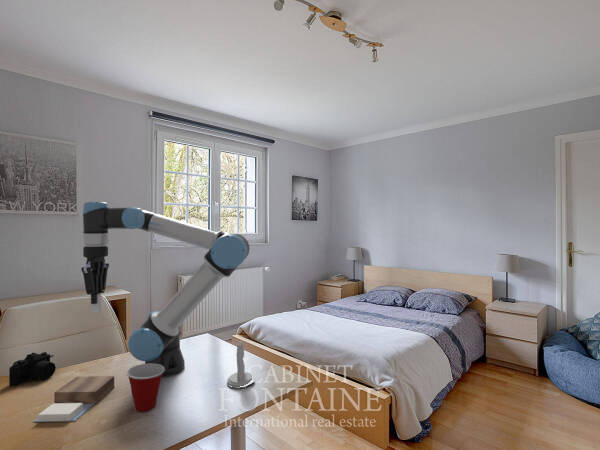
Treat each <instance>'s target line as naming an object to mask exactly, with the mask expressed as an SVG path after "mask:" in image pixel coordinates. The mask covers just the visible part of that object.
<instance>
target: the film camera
mask: <svg viewBox="0 0 600 450" xmlns="http://www.w3.org/2000/svg"><path fill="white" fill-rule="evenodd" d="M52 357H55V355H53V354H52V355H51V354H49V353H48V352H46V351H44V352H43V351H42V352H41V353H37V352H32V353H30V354H26V357H25V358H24V359H19V360H16V361H14V362H13V363H12V365H11V366H9V369H8V373H9V374H8V376H9V378H8V380H9V381H8V386H9V387H10V386H14V387H18V386H20V385H22V384H24V382H25V383H27V382H29V381H31V380H47V379H49V378H51V377H52V376H53V375H54V374H55V372H56V364H55V363H54V362H51V358H52ZM19 384H20V385H19ZM17 385H18V386H17Z"/></svg>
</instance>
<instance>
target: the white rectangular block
mask: <svg viewBox="0 0 600 450" xmlns="http://www.w3.org/2000/svg"><path fill="white" fill-rule="evenodd" d="M82 410H83V403H55V402H54V403H52V404H51V405H49V406H48V407H46V408H45V409H44V410H42V411H41V412H40V413H38V414H37V418H38V422H37V423H40V422H39V421H65V422H71V421H70V420H71V419H72V418H74V417H75V416H76V415H77V414H78V413H79V412H80V411H82Z"/></svg>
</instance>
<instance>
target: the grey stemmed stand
mask: <svg viewBox="0 0 600 450" xmlns="http://www.w3.org/2000/svg"><path fill="white" fill-rule="evenodd" d="M236 347H237V348H236V366H237V368H236V369H237V372H235V373H232V374H230V376H229V377H227V380H226V384H228V385H230V386H232V387H240V386H244V385H246V384H248V383H249V382H250V381H251V380H252V376H253V374H252V373H250V372H246V371H245V369H246V368H245V367H246V365H245V362H244V358H245V349H244V343H243V341H241V340H239V341H238V342H237V346H236ZM228 385H227V386H228ZM232 387H231V388H232Z"/></svg>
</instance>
